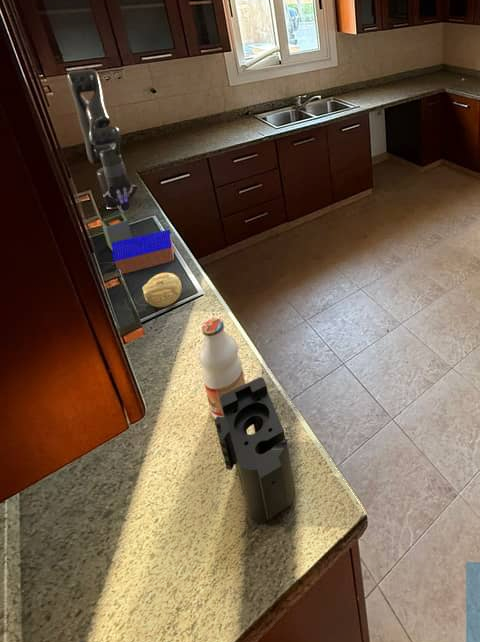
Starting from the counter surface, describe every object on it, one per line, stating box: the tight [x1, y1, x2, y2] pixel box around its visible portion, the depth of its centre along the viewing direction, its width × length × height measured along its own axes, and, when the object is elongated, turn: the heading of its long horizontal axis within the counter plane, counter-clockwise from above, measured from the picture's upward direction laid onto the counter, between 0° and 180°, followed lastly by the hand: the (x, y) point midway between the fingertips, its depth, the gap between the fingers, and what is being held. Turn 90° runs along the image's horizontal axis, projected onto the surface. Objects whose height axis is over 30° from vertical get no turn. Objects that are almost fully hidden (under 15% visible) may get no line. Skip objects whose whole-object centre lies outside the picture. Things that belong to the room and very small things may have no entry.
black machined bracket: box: [214, 376, 296, 526], centre depth 92 cm, size 12×21×22 cm, turn 34°
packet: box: [108, 220, 122, 226], centre depth 184 cm, size 4×3×11 cm
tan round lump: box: [142, 272, 183, 308], centre depth 151 cm, size 12×12×11 cm
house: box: [112, 229, 175, 275], centre depth 174 cm, size 12×20×12 cm, turn 117°
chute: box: [101, 213, 133, 252], centre depth 184 cm, size 8×8×12 cm
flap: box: [117, 205, 129, 220], centre depth 183 cm, size 8×4×1 cm
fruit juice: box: [198, 317, 246, 420], centre depth 110 cm, size 9×9×28 cm
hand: (125, 209), depth 184 cm, fingers closed
